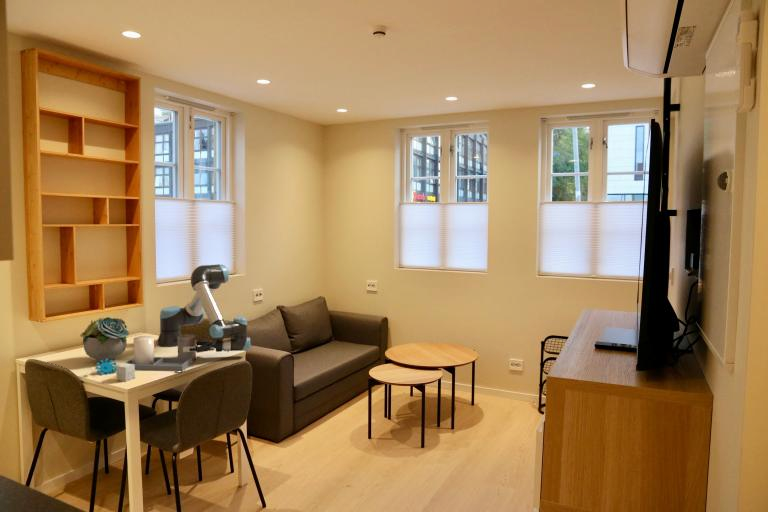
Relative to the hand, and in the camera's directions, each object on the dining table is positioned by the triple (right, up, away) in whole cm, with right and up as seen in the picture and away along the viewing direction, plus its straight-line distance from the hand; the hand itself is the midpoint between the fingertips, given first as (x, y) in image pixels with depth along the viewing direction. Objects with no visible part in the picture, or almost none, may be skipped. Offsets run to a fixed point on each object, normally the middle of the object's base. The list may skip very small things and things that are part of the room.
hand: (183, 346), depth 300 cm
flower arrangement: (-42, -7, -6) cm, 43 cm away
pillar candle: (+1, -8, +1) cm, 8 cm away
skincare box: (-15, -10, -36) cm, 41 cm away
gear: (-28, -10, -29) cm, 42 cm away
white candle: (-16, -8, -15) cm, 23 cm away
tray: (-8, -9, -15) cm, 19 cm away
